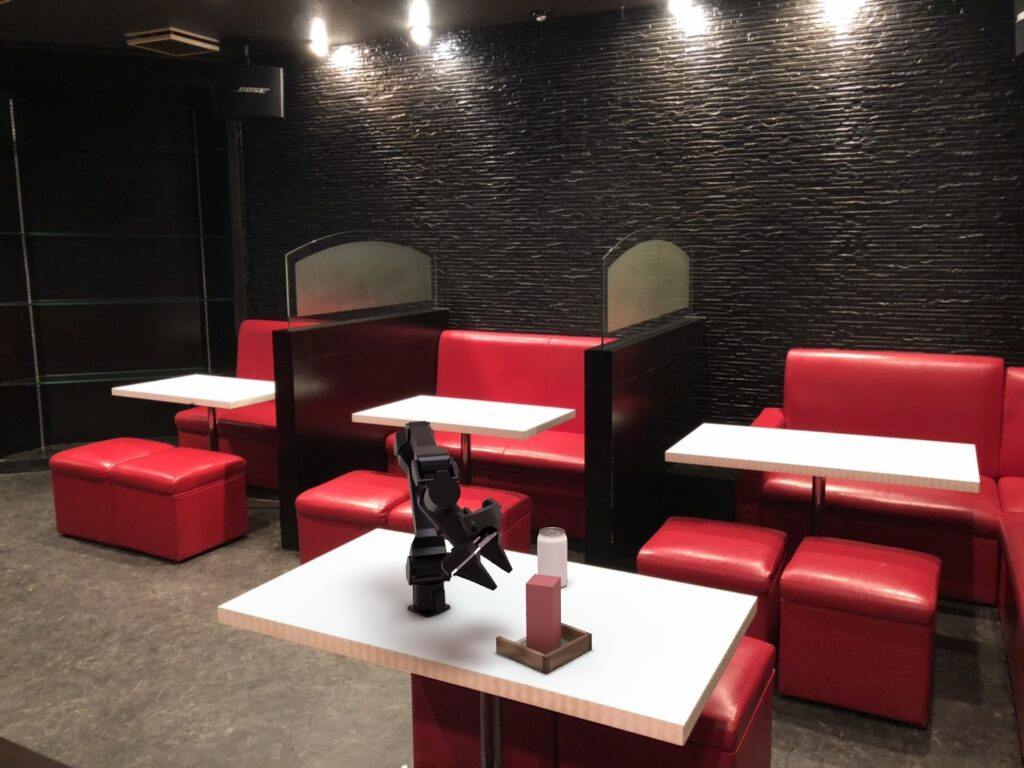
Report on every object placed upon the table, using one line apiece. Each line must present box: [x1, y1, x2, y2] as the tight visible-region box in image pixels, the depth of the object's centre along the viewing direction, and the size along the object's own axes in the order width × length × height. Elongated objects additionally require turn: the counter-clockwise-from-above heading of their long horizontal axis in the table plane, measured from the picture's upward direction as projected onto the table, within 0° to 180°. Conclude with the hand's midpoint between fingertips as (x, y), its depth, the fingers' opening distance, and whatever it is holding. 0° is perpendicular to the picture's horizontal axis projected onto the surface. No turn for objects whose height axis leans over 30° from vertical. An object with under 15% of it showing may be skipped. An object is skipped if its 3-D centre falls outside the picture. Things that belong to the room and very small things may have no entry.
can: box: [536, 526, 568, 589], centre depth 184 cm, size 6×6×12 cm
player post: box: [525, 573, 562, 655], centre depth 152 cm, size 5×5×13 cm
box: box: [495, 622, 593, 675], centre depth 152 cm, size 12×13×3 cm
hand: (503, 580), depth 153 cm, fingers open, 9 cm apart
